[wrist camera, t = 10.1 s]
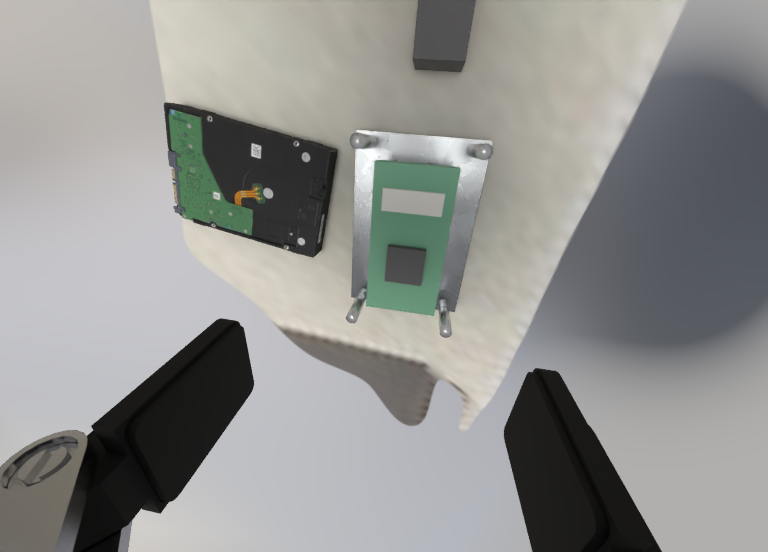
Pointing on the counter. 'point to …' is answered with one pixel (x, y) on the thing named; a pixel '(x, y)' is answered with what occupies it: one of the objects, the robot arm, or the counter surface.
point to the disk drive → (249, 179)
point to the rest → (442, 34)
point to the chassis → (471, 179)
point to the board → (409, 234)
